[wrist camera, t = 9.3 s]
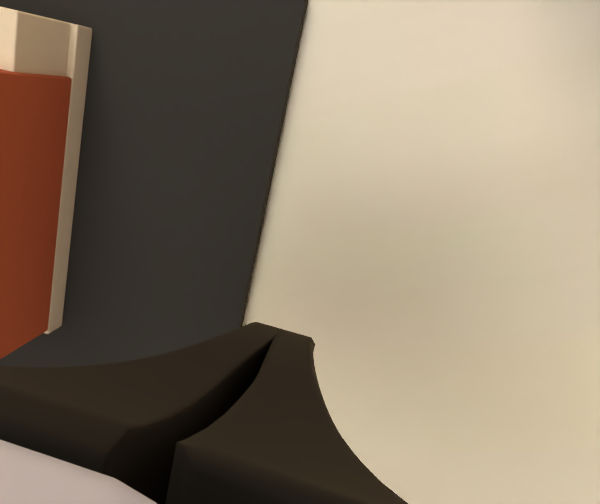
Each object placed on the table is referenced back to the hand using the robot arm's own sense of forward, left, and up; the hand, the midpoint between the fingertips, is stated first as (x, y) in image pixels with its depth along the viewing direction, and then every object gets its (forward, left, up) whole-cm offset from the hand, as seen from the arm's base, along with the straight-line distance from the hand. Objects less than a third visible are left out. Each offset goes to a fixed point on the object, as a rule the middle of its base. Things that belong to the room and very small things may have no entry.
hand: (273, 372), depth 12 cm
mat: (0, +11, -10) cm, 15 cm away
